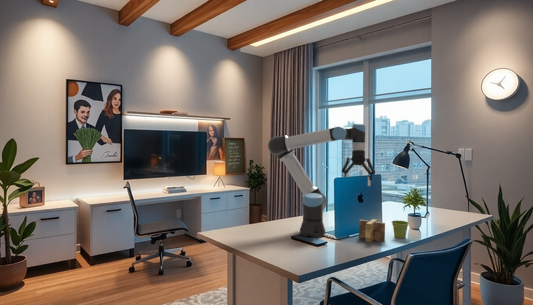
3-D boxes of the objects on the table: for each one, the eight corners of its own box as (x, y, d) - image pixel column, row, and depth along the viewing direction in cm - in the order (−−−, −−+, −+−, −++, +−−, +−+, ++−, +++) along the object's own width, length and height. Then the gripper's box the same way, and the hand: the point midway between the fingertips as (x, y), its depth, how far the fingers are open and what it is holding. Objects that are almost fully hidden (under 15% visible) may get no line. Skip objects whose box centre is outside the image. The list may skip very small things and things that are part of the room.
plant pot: (397, 239, 200) (397, 224, 200) (388, 235, 209) (388, 220, 209) (411, 238, 202) (412, 223, 202) (402, 234, 211) (402, 220, 211)
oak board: (370, 242, 194) (370, 224, 194) (365, 241, 196) (365, 223, 195) (377, 236, 206) (377, 219, 206) (373, 236, 207) (373, 218, 207)
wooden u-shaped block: (358, 237, 204) (359, 220, 203) (360, 236, 205) (360, 219, 205) (383, 241, 196) (384, 223, 196) (384, 240, 198) (385, 222, 197)
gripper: (336, 149, 218) (336, 184, 218) (377, 150, 204) (376, 187, 205) (341, 149, 224) (340, 182, 225) (381, 150, 210) (380, 185, 211)
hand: (357, 185), depth 215 cm, fingers open, 13 cm apart
